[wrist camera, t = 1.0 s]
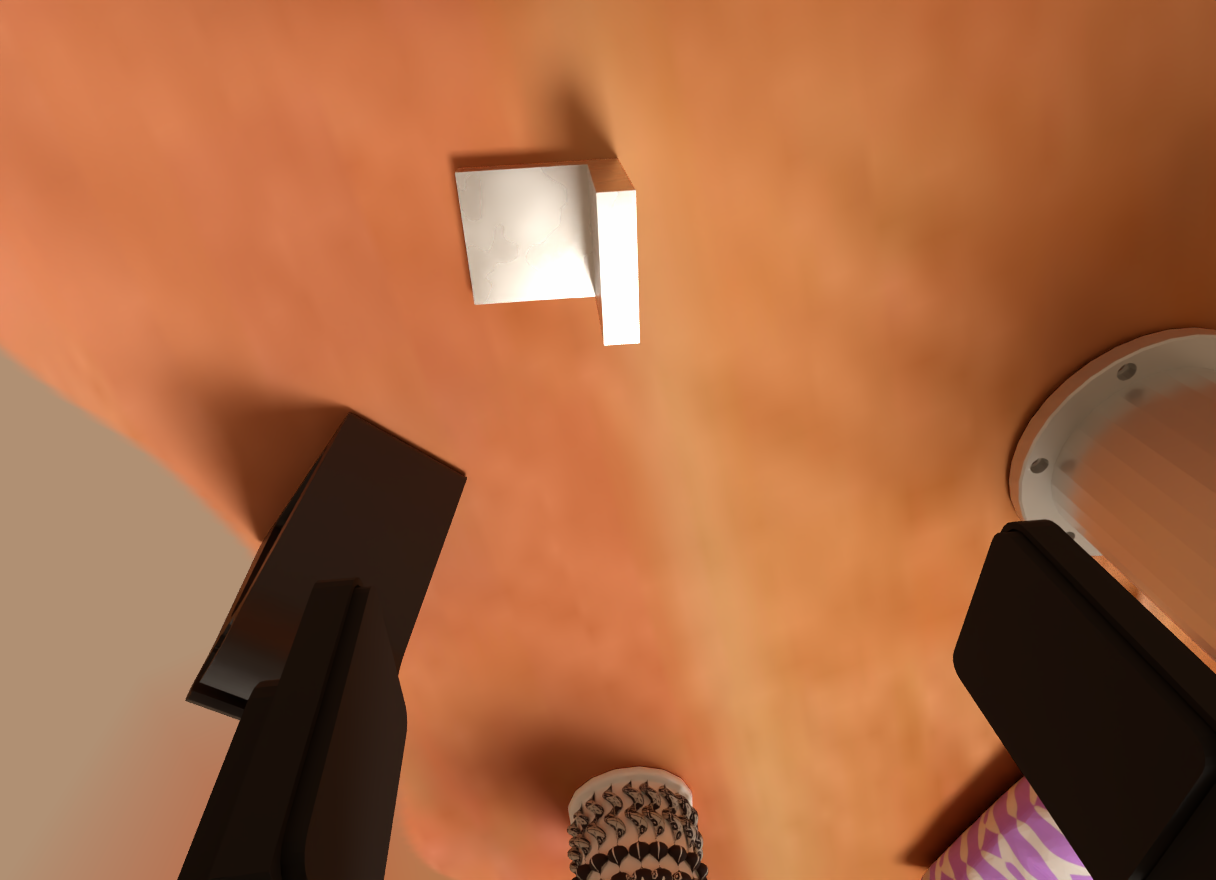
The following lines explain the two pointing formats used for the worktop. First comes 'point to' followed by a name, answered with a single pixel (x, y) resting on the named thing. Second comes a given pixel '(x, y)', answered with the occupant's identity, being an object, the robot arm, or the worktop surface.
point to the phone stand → (335, 556)
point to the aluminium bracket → (554, 237)
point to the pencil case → (1011, 844)
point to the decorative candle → (635, 828)
